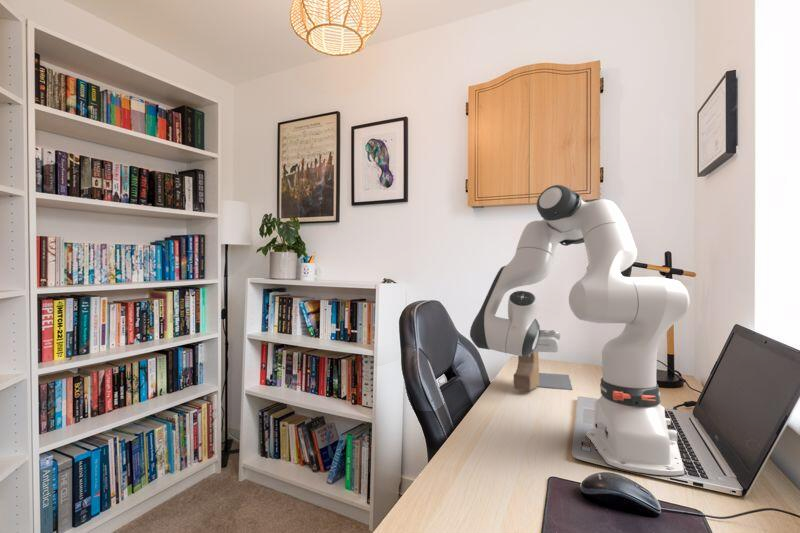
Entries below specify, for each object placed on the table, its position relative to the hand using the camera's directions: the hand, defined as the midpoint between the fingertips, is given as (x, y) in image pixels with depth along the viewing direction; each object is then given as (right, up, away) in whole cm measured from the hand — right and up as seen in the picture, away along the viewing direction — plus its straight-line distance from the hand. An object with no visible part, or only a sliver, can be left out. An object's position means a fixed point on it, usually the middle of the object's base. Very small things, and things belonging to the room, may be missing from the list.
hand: (525, 354), depth 130 cm
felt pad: (+10, -12, +13) cm, 20 cm away
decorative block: (+1, -11, +1) cm, 12 cm away
